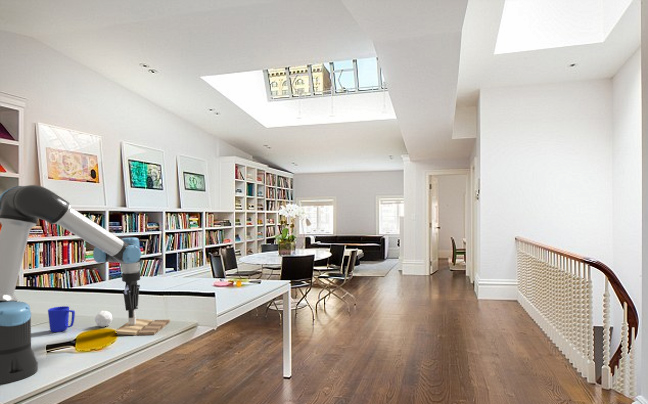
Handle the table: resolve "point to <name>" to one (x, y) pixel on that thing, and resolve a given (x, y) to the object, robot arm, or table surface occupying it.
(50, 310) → the mug
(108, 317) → the ornament
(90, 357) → the table surface
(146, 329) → the laid strip
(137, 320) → the plank
